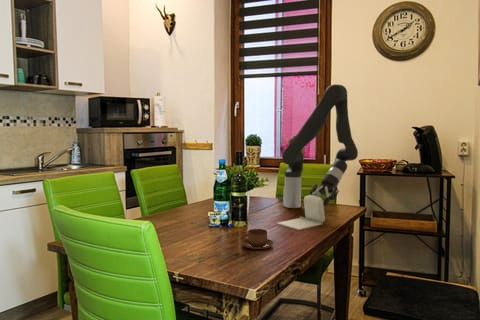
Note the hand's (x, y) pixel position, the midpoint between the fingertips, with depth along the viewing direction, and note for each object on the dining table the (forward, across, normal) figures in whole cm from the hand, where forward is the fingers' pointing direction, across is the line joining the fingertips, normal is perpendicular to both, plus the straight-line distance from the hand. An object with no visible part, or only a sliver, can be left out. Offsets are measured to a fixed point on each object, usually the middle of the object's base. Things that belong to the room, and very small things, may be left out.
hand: (317, 203), depth 195 cm
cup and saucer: (+42, +13, -29) cm, 52 cm away
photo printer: (+6, 0, +5) cm, 8 cm away
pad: (+14, 0, -2) cm, 14 cm away
